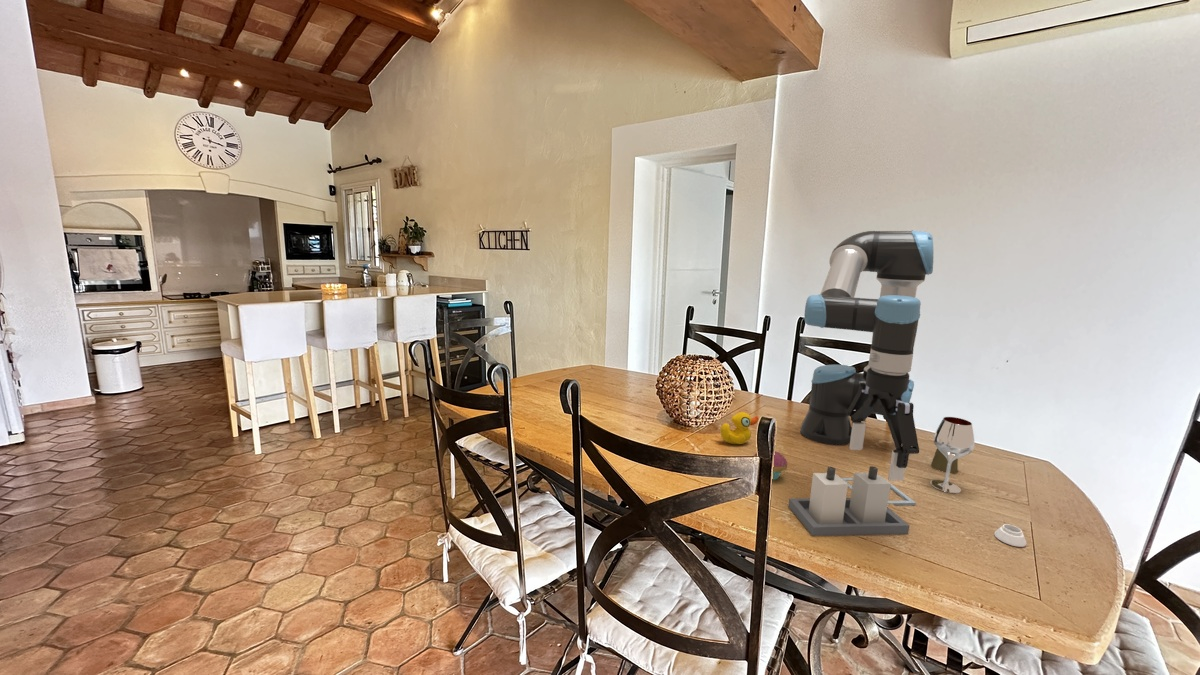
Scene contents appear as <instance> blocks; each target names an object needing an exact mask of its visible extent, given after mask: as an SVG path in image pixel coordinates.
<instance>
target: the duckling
mask: <svg viewBox="0 0 1200 675" xmlns="http://www.w3.org/2000/svg"><path fill="white" fill-rule="evenodd" d="M731 422H732V424H733V425H734V427H735V428H734V429H732V428H731V427H730V424H729V423H727V422H724V423H722V425H721V426H720V436H721V438H722V440H724V442H726V443H729V444H732V445H744V444H745V443H747V442H748V441H749V440H750V439H751V437H752V432H751V430H750V429H749V427H750V426H755V425H756V424H757V423H758V422H759V416H758V415H755V416H754V417H751V415H750V414H749V413H747V412H744V411H739V412H737V413H736V414H734V415H733V416H732V417H731Z"/></svg>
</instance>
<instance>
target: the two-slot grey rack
mask: <svg viewBox="0 0 1200 675" xmlns="http://www.w3.org/2000/svg"><path fill="white" fill-rule="evenodd" d="M850 500H851V497H846V502H845V509H844V517H843V524H817V523H816V522H815V520H814V519H813V518H812V517H811V516H810V515H809V513H808V512H809V504H810V497H806V498H805V497H803V498H800V497H799V498H792V497H791V498H789V499H788V508H789V509H790V510H791V512H792V513H793V514H794V515H795V517H796V518H797V519H798V520H799V521H800V523H801V524H802V525H803V526H804V527H805V529H806V530H807V531H808V533H809V534H810V535H811V537H822V536H823V537H826V536H827V537H829V536H836V537H837V536H875V535H876V536H880V535H881V536H882V535H885V536H887V535H889V536H890V535H909V531H910V524H908V523H907V522H906V521H905V520H903V519H902V518H901V517H900V516H899V515H898V514H897V513H895V512H894V510H892V509H891V508H890V507H889V506H887V511H886V518H885V523H862V524H861V523H860V522H859V521H858V520H857V519H856V518H855V517H854V516H853V515H852V514H851V513H850V512H849V507H850Z"/></svg>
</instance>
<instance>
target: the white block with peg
mask: <svg viewBox="0 0 1200 675" xmlns="http://www.w3.org/2000/svg"><path fill="white" fill-rule="evenodd" d="M878 472H879V468H878V467H876V466H872V465H871V466H869V469H868V472H854V473H853V477H852V478H853V480H852V485H851V486H852V490H851V494H850V498H851V500H850V507H849V512H850V513H851V514H852V515H853V516H854V517H855V518H856V519H857V520H858V521H859V522H860V523H861V524H862V523H885V518H886V511H887V507H888V506H889V504H888V501H889V498H890V490H891V489H890V486H891V484H892V483H891V482H890V481H888V480H887V479H886V478H885V477H883V476H881V475H879V474H878ZM886 480H887V481H886Z"/></svg>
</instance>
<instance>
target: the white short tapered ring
mask: <svg viewBox="0 0 1200 675" xmlns="http://www.w3.org/2000/svg"><path fill="white" fill-rule="evenodd" d="M994 536H995V538H996V539H997V540H999V541H1000V542H1003V543H1004V544H1006V545H1009V546H1013V547H1016V548H1017V547H1019V548H1023V547H1026V546H1027V540H1026V538H1025V535H1024V533H1023V530H1022V529H1021V528H1020V527H1019V526H1015V525H1013V524H1008V523H1004V524H1003V525H1002V526H1000V527H998V528H997V529H996V530H995V532H994Z"/></svg>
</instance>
